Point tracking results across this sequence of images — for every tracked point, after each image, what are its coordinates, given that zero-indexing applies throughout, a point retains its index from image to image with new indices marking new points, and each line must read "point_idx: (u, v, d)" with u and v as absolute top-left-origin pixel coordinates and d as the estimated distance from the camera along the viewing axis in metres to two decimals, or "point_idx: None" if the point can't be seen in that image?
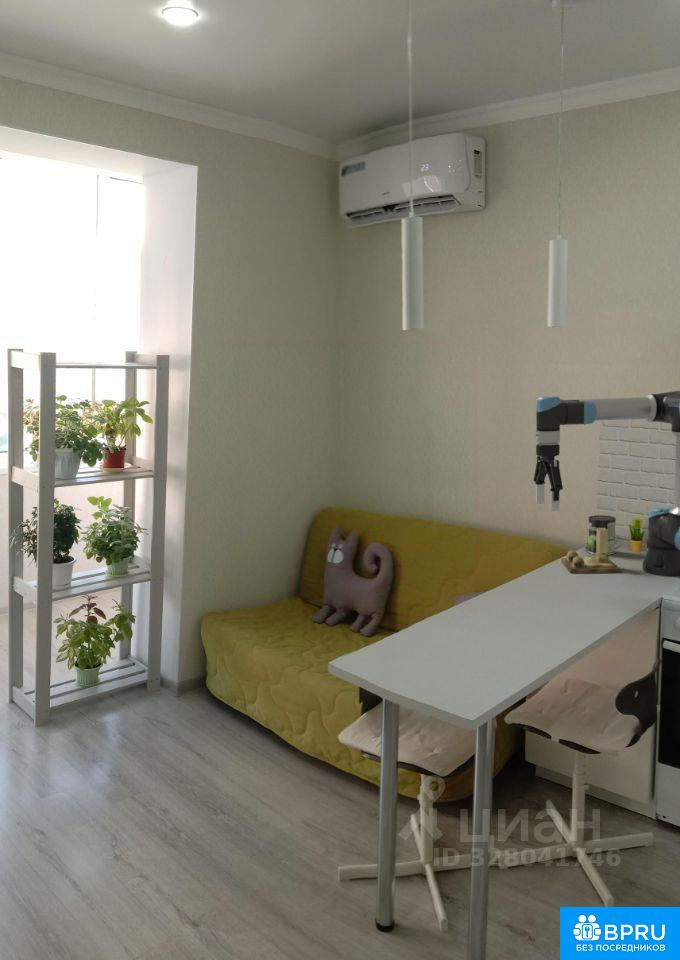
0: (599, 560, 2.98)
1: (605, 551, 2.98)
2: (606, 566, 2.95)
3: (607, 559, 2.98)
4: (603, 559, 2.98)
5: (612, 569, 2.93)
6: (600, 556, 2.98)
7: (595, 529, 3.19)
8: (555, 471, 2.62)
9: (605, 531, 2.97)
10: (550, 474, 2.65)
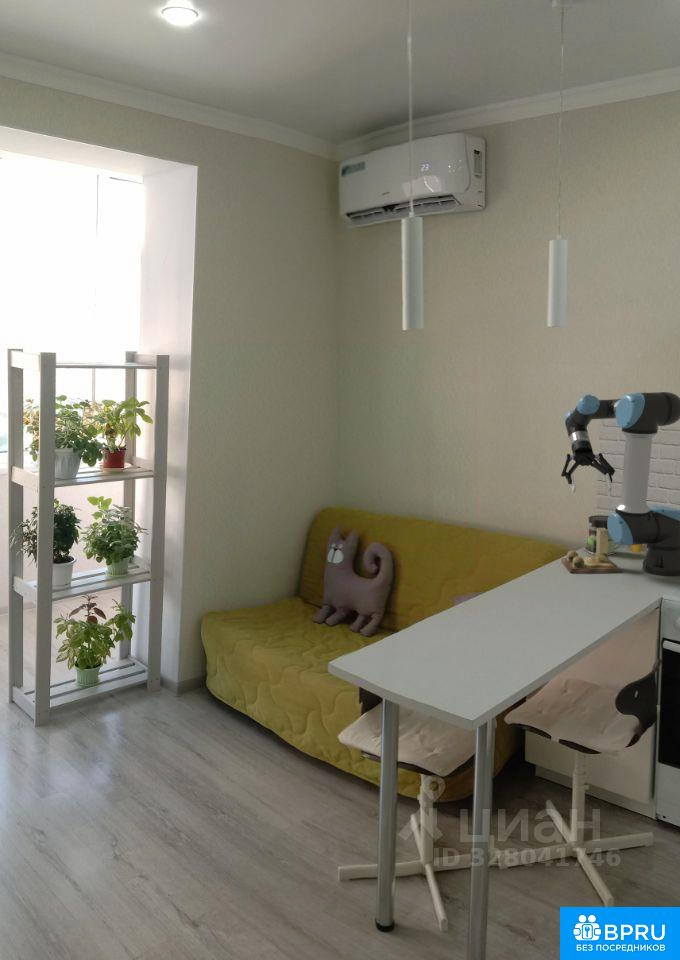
0: (599, 560, 2.98)
1: (605, 551, 2.98)
2: (606, 566, 2.95)
3: (607, 559, 2.98)
4: (603, 559, 2.98)
5: (612, 569, 2.93)
6: (600, 556, 2.98)
7: (595, 529, 3.19)
8: None
9: (605, 531, 2.97)
10: None
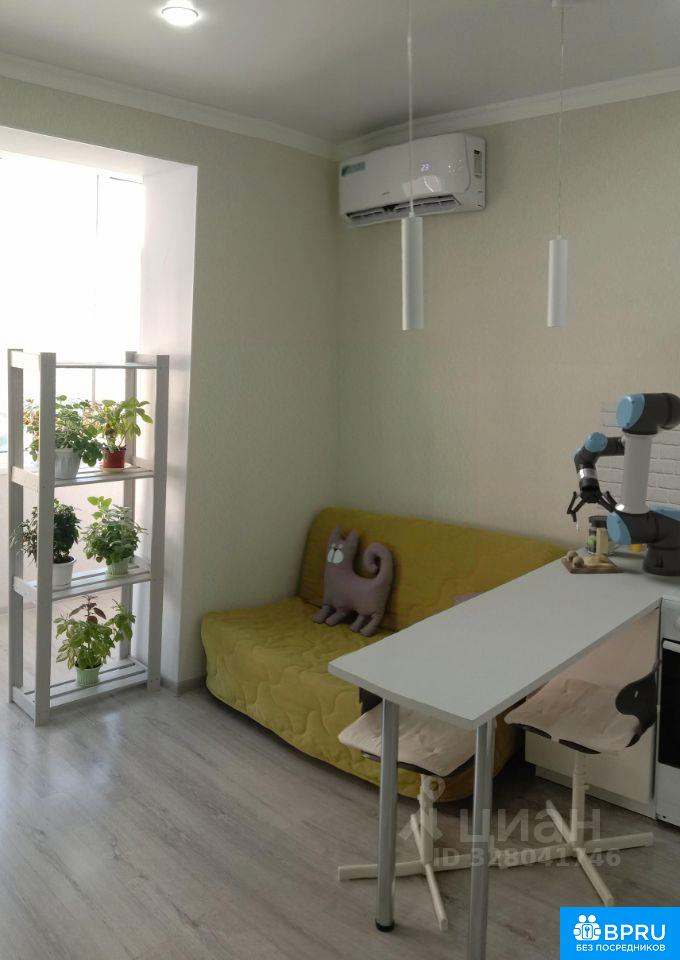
0: (599, 560, 2.98)
1: (605, 551, 2.98)
2: (606, 566, 2.95)
3: (607, 559, 2.98)
4: (603, 559, 2.98)
5: (612, 569, 2.93)
6: (600, 556, 2.98)
7: (595, 529, 3.19)
8: None
9: (605, 531, 2.97)
10: None
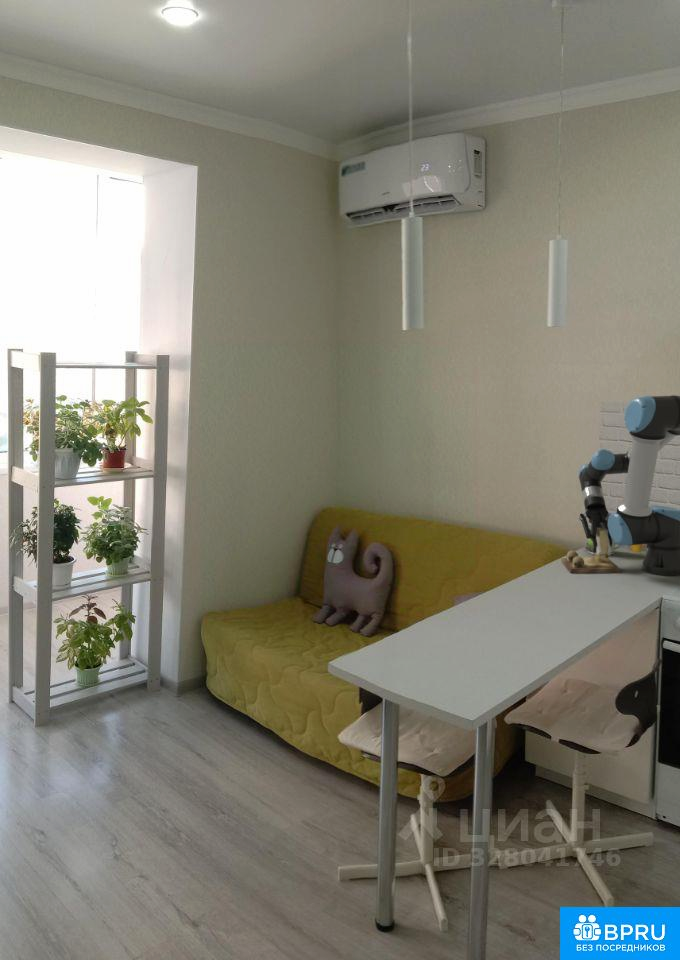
0: (599, 560, 2.98)
1: (605, 551, 2.98)
2: (606, 566, 2.95)
3: (607, 559, 2.98)
4: (603, 559, 2.98)
5: (612, 569, 2.93)
6: (600, 556, 2.98)
7: None
8: (583, 524, 3.05)
9: (605, 531, 2.97)
10: (591, 526, 3.05)
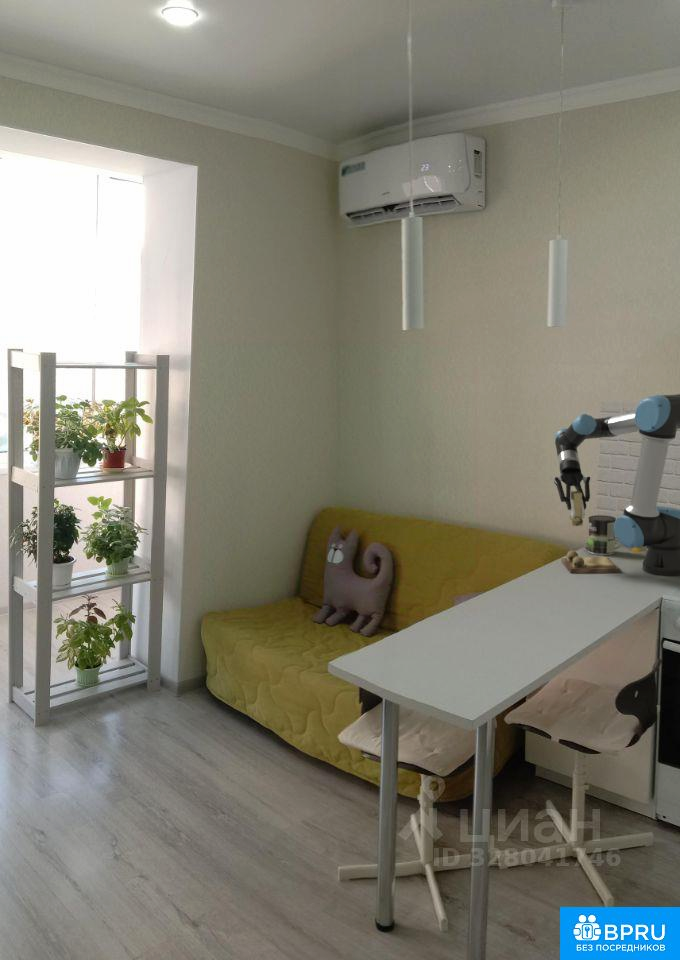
0: (573, 523, 2.97)
1: (579, 514, 2.97)
2: (606, 566, 2.95)
3: (581, 522, 2.97)
4: (577, 522, 2.97)
5: (612, 569, 2.93)
6: (574, 519, 2.97)
7: (595, 529, 3.19)
8: (557, 488, 3.04)
9: (579, 494, 2.96)
10: (566, 489, 3.04)
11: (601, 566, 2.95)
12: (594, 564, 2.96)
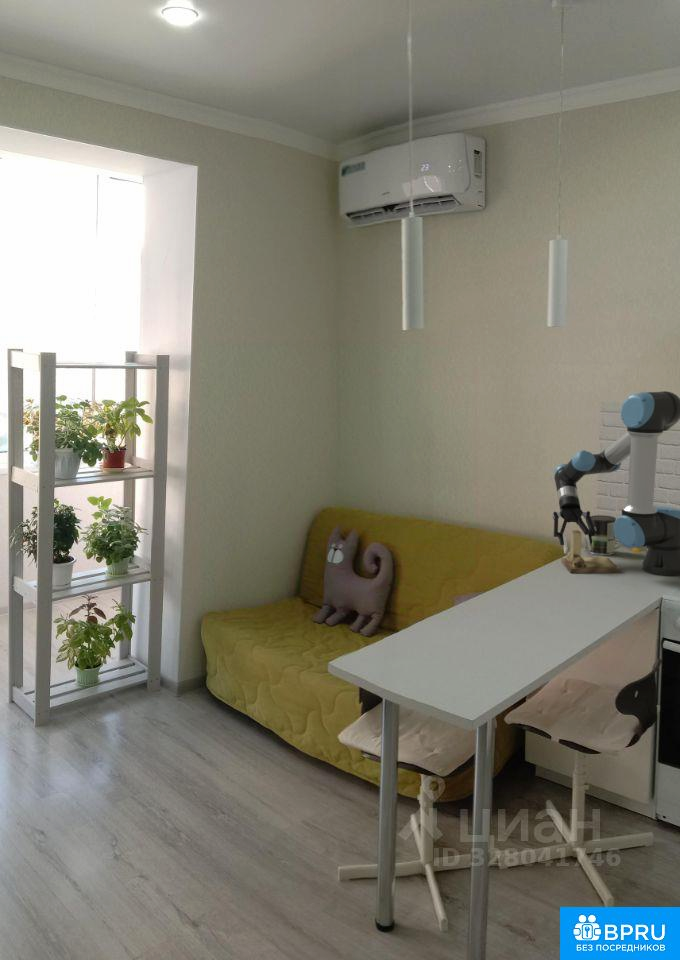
0: None
1: (579, 553, 2.99)
2: (606, 566, 2.95)
3: None
4: None
5: (612, 569, 2.93)
6: None
7: (595, 529, 3.19)
8: (554, 522, 3.06)
9: (578, 533, 2.98)
10: None
11: (601, 566, 2.95)
12: (594, 564, 2.96)
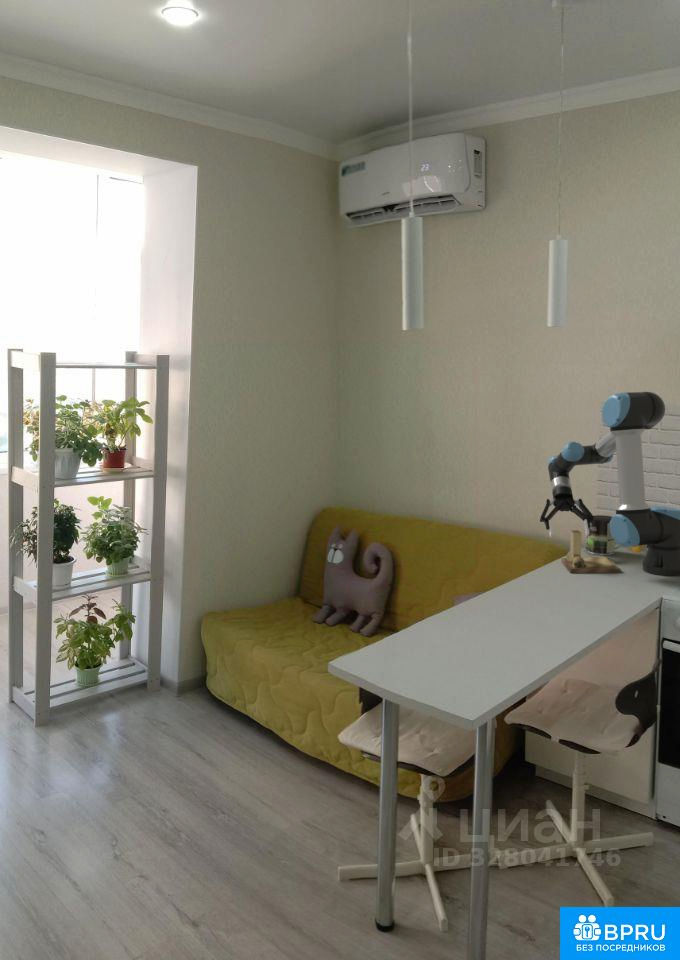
0: None
1: (579, 553, 2.99)
2: (606, 566, 2.95)
3: None
4: None
5: (612, 569, 2.93)
6: None
7: (595, 529, 3.19)
8: None
9: (578, 533, 2.98)
10: None
11: (601, 566, 2.95)
12: (594, 564, 2.96)
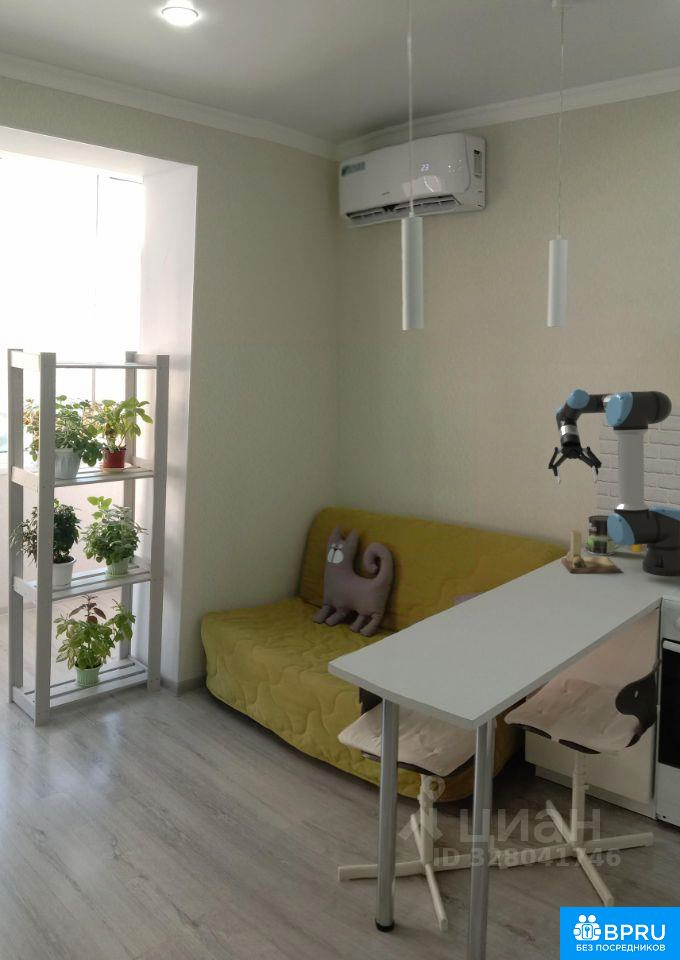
0: None
1: (579, 553, 2.99)
2: (606, 566, 2.95)
3: None
4: None
5: (612, 569, 2.93)
6: None
7: (595, 529, 3.19)
8: None
9: (578, 533, 2.98)
10: None
11: (601, 566, 2.95)
12: (594, 564, 2.96)
